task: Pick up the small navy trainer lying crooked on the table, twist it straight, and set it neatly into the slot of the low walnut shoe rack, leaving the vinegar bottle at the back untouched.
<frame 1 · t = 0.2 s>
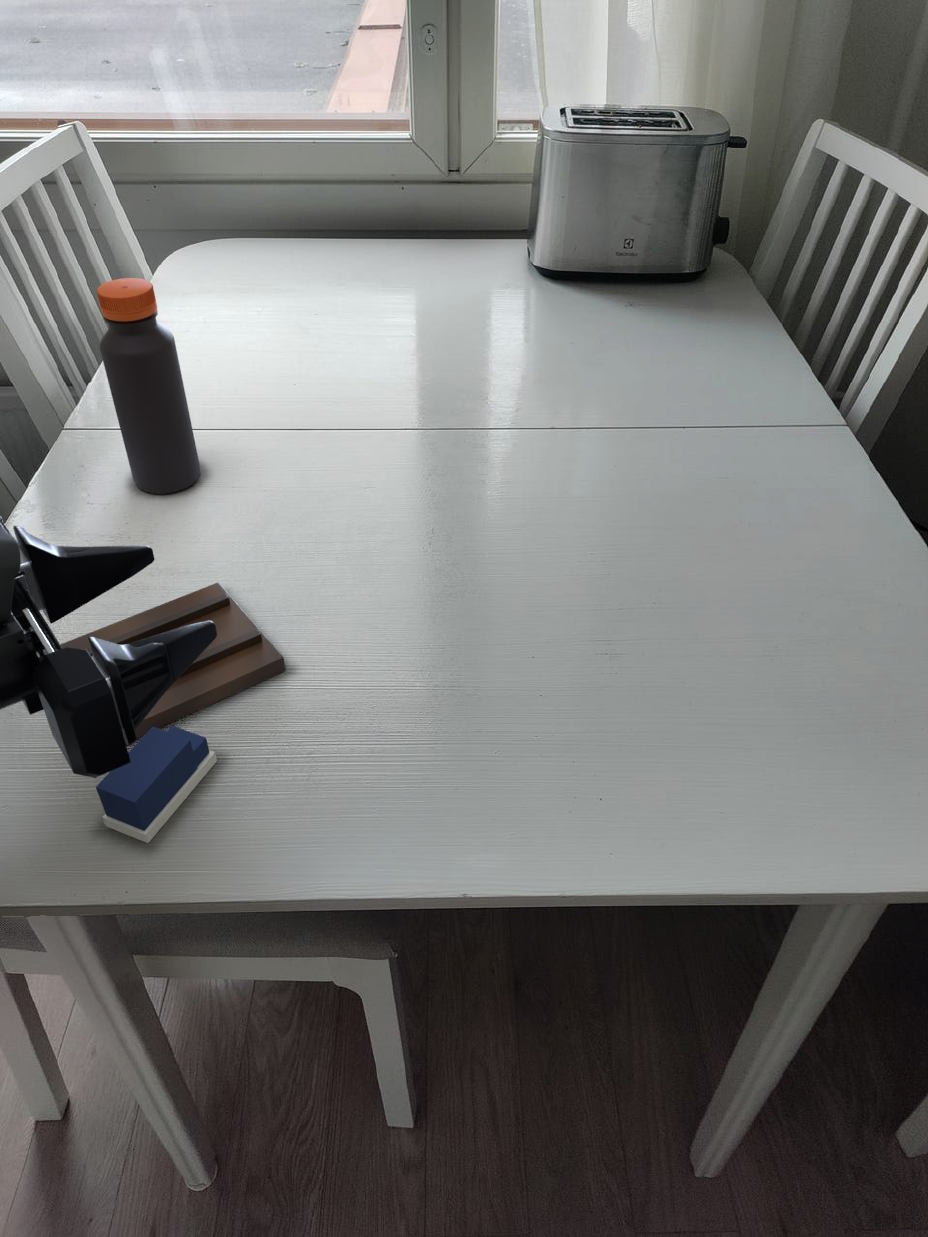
hand: (182, 588, 58), 17 cm above the table, tool horizontal, fingers open, 9 cm apart
shoe: (163, 792, 68), on the table
rack: (174, 664, 78), on the table
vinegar: (168, 479, 99), on the table
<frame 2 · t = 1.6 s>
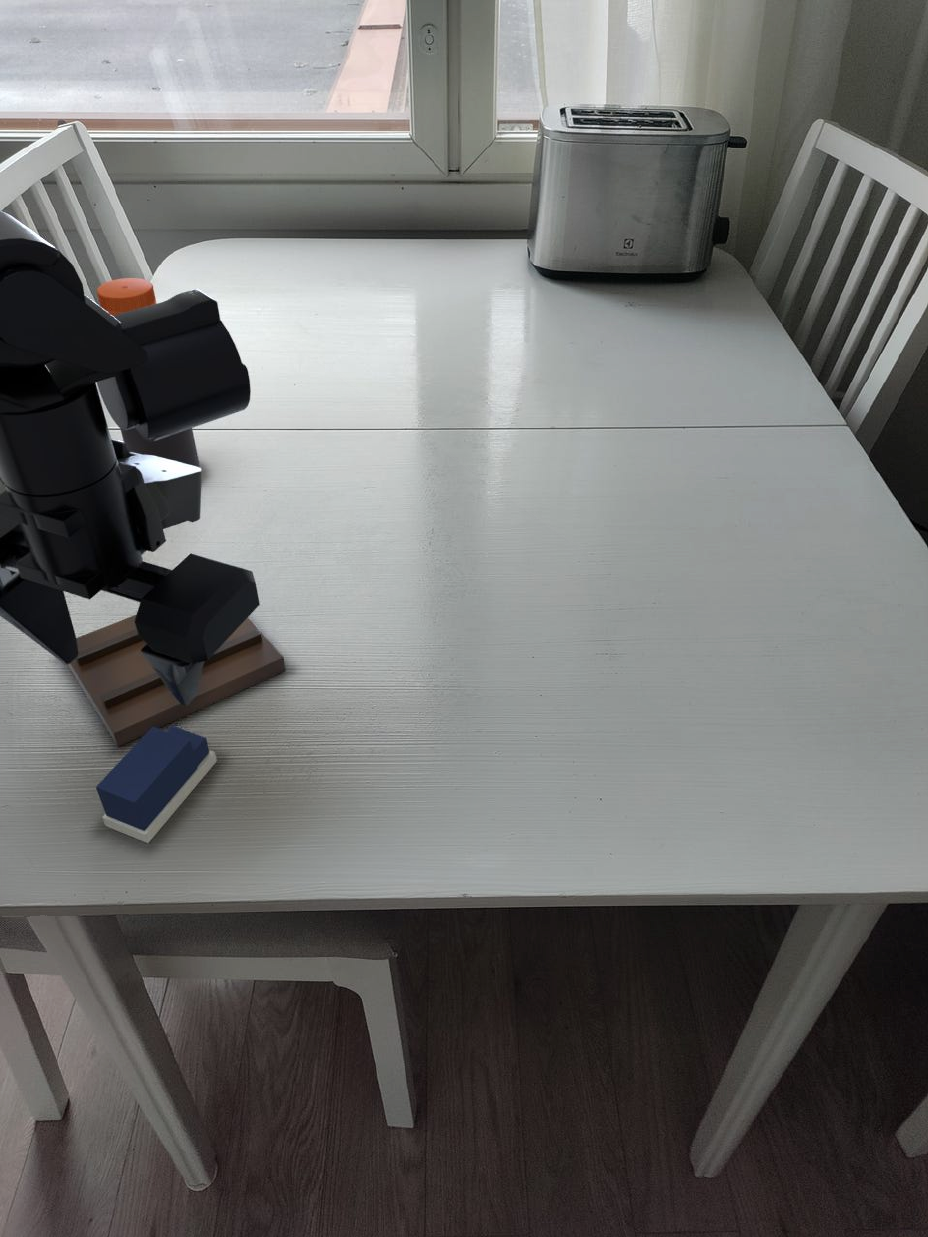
hand: (128, 679, 60), 11 cm above the table, tool pointing down, fingers open, 9 cm apart
nothing on the table moved.
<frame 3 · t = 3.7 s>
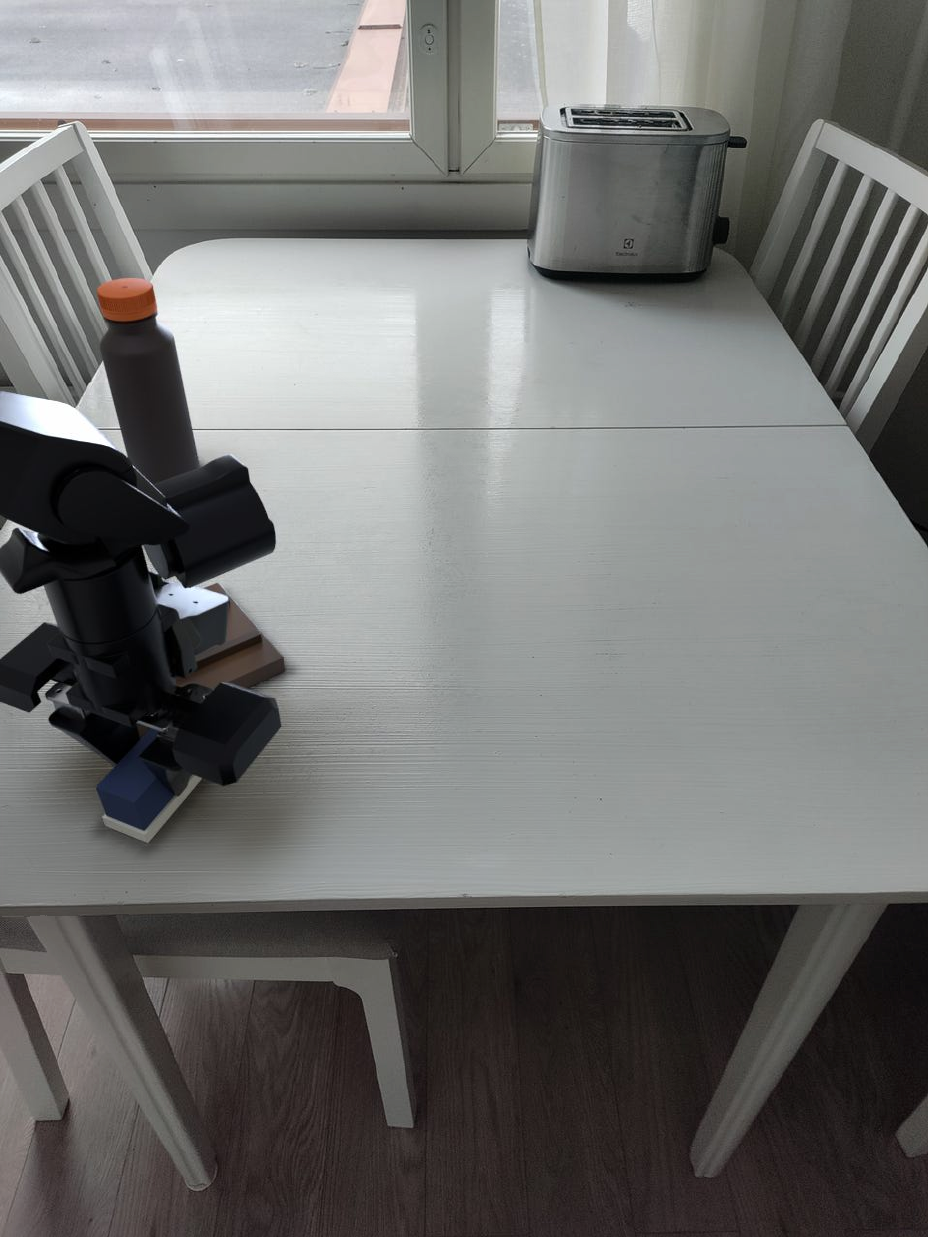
hand: (160, 783, 67), 1 cm above the table, tool pointing down, fingers closed on shoe, 3 cm apart
shoe: (163, 792, 68), on the table, touching gripper
everything else where it was.
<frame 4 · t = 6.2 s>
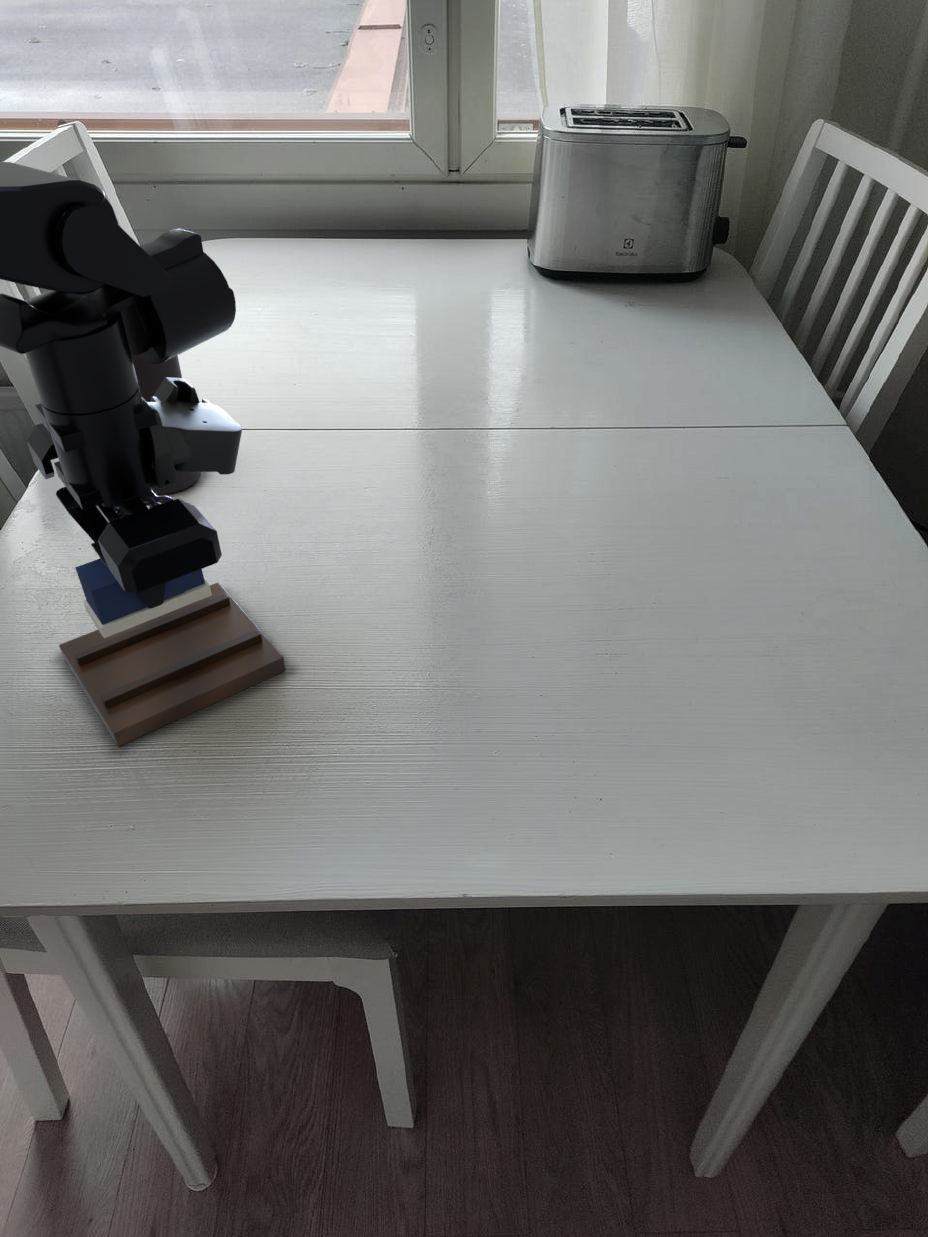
hand: (146, 592, 68), 11 cm above the table, tool pointing down, fingers closed on shoe, 3 cm apart
shoe: (149, 603, 69), point 10 cm above the table, touching gripper
everything else where it was.
when the fingers open (3 cm above the table, at t = 8.9 s): shoe stays where it is, resting on rack.
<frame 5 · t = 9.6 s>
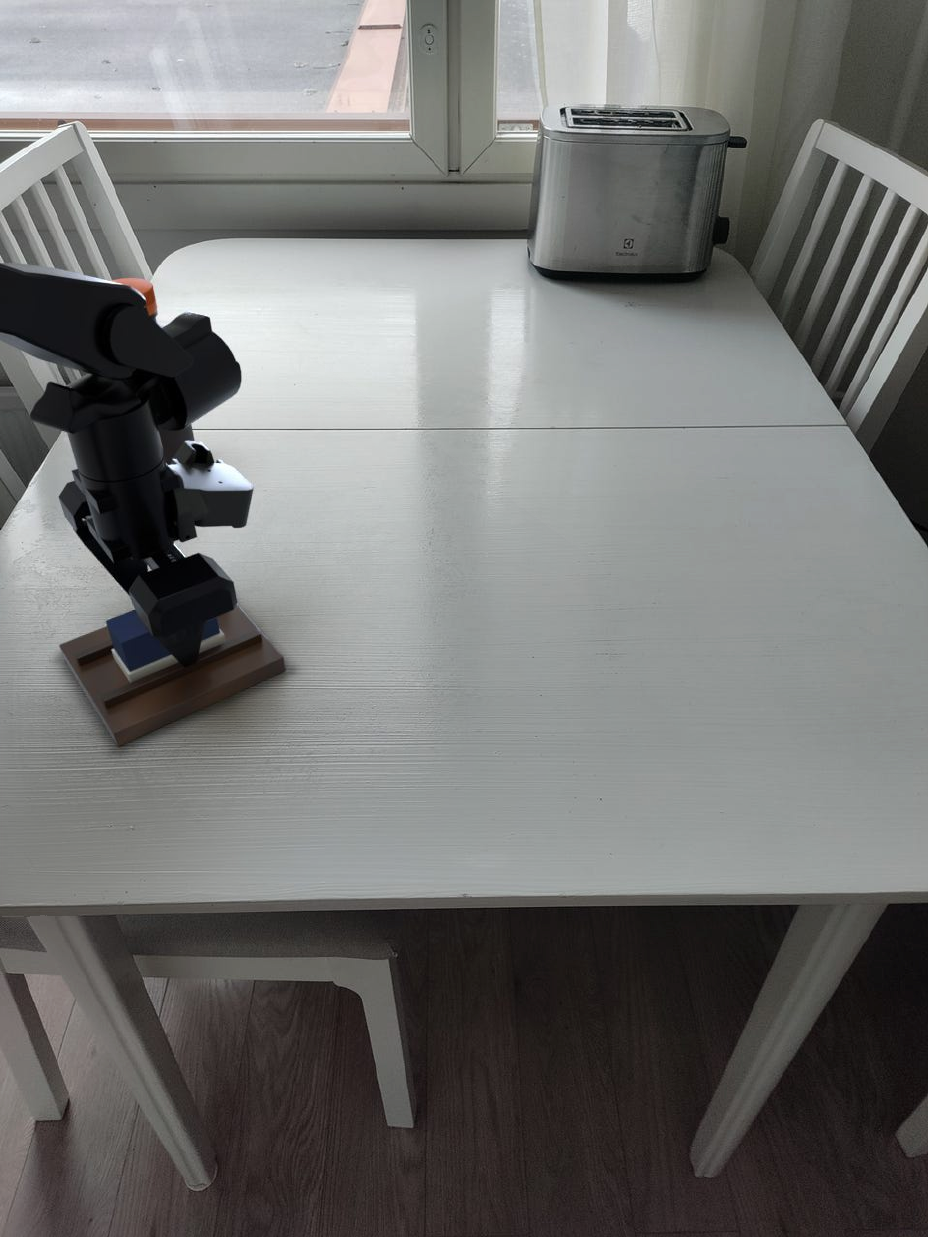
hand: (165, 632, 75), 3 cm above the table, tool pointing down, fingers open, 9 cm apart
shoe: (170, 650, 77), point 1 cm above the table, touching rack
everything else where it was.
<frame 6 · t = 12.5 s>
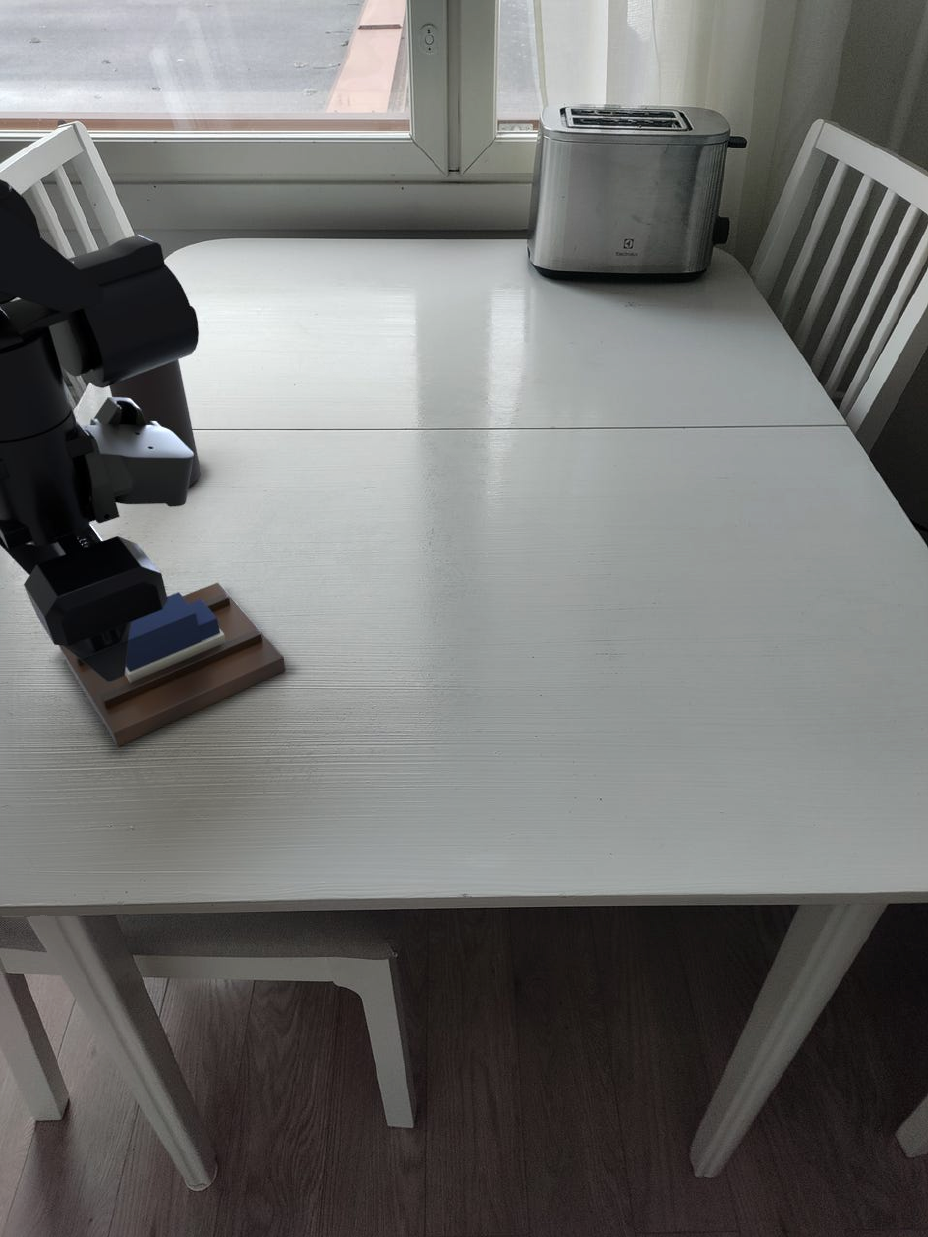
hand: (88, 637, 61), 13 cm above the table, tool pointing down, fingers open, 9 cm apart
nothing on the table moved.
at the end: shoe 0.0 cm off-centre on the rack, point 1.5 cm above the rack's base; shoe tilted 0°; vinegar moved 0.2 cm from its start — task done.
